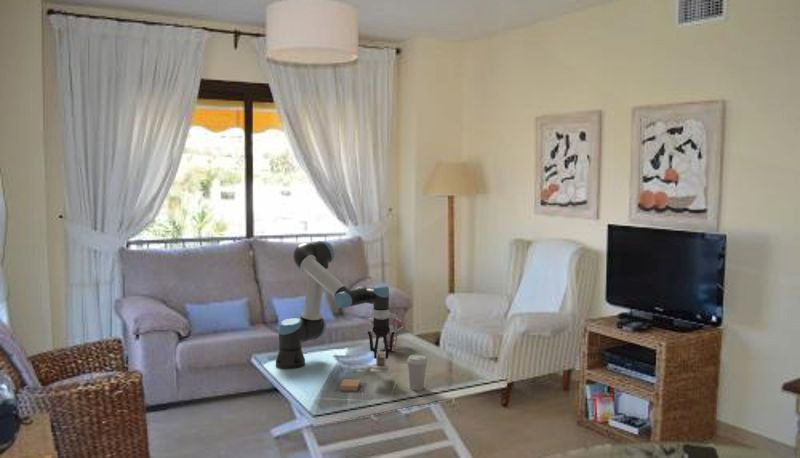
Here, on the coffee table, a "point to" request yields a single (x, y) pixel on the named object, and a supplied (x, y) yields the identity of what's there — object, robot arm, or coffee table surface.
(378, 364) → the tapered wooden block
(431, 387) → the coffee table surface
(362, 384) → the mat
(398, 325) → the flower
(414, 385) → the coffee cup
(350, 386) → the tile
